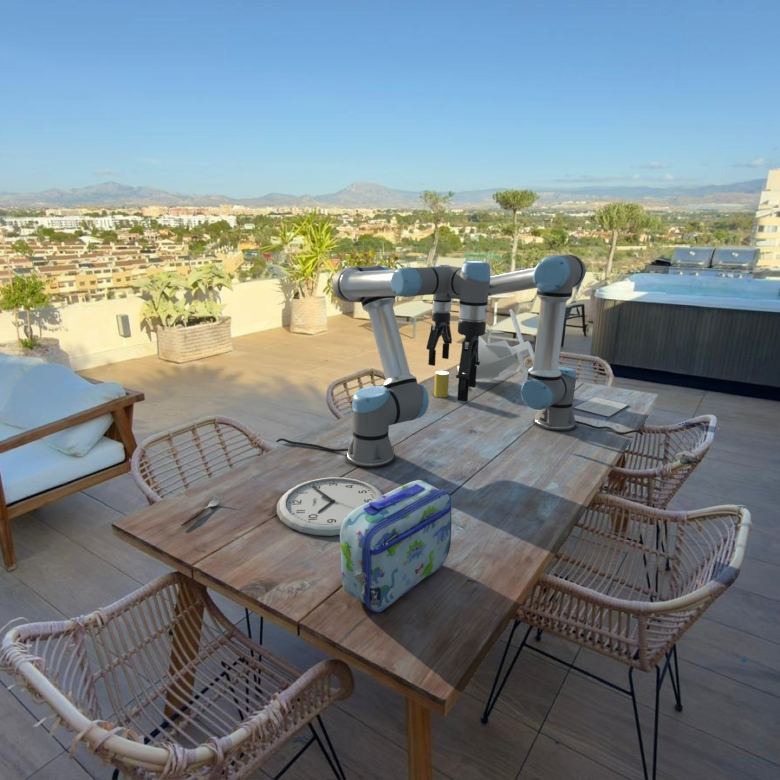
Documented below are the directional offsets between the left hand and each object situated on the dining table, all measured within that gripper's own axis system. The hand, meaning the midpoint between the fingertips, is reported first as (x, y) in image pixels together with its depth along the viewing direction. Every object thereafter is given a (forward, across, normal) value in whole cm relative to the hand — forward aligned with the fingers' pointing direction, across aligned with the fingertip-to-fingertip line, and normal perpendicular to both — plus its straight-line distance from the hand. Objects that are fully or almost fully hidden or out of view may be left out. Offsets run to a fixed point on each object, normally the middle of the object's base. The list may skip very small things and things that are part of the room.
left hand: (466, 393), depth 149 cm
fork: (+28, -41, +61) cm, 79 cm away
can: (+29, +81, +23) cm, 89 cm away
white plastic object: (+29, +102, +1) cm, 106 cm away
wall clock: (+28, -26, +30) cm, 49 cm away
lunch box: (+27, -51, +4) cm, 58 cm away
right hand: (+10, +68, +23) cm, 73 cm away
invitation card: (+28, +89, -46) cm, 104 cm away
